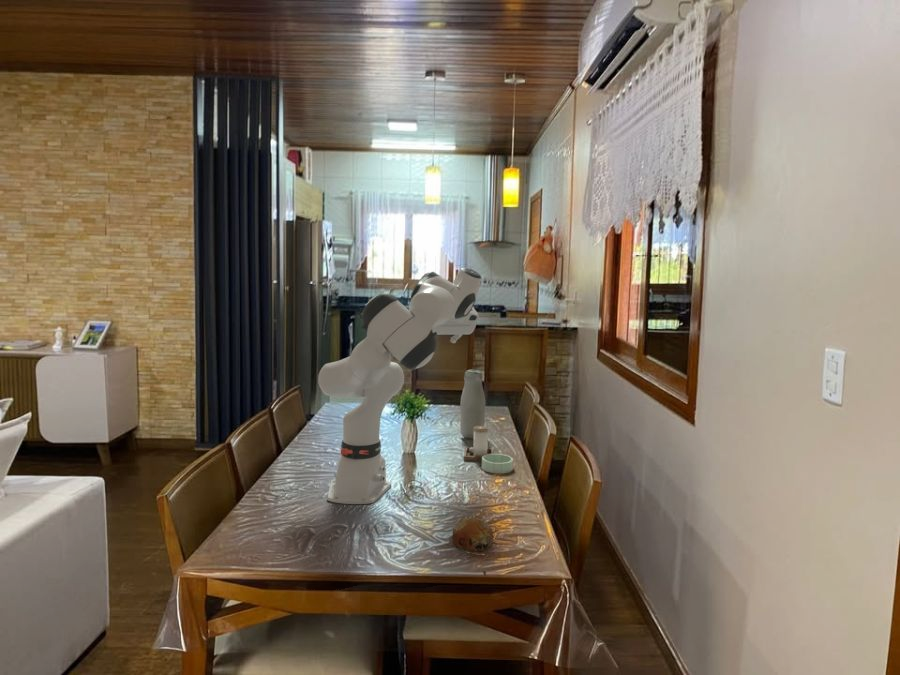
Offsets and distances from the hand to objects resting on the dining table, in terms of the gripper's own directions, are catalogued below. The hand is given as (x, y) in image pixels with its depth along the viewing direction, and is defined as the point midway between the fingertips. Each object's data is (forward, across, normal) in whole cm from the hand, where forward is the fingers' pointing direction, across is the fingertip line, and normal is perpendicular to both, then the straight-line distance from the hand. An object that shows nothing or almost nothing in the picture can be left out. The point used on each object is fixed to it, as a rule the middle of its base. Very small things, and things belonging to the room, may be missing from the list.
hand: (441, 342), depth 213 cm
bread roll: (+2, -27, -75) cm, 80 cm away
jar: (+28, +13, -30) cm, 43 cm away
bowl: (+23, +11, -40) cm, 48 cm away
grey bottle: (+42, +26, -11) cm, 51 cm away
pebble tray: (+30, +13, -30) cm, 44 cm away
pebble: (+31, +13, -26) cm, 42 cm away
